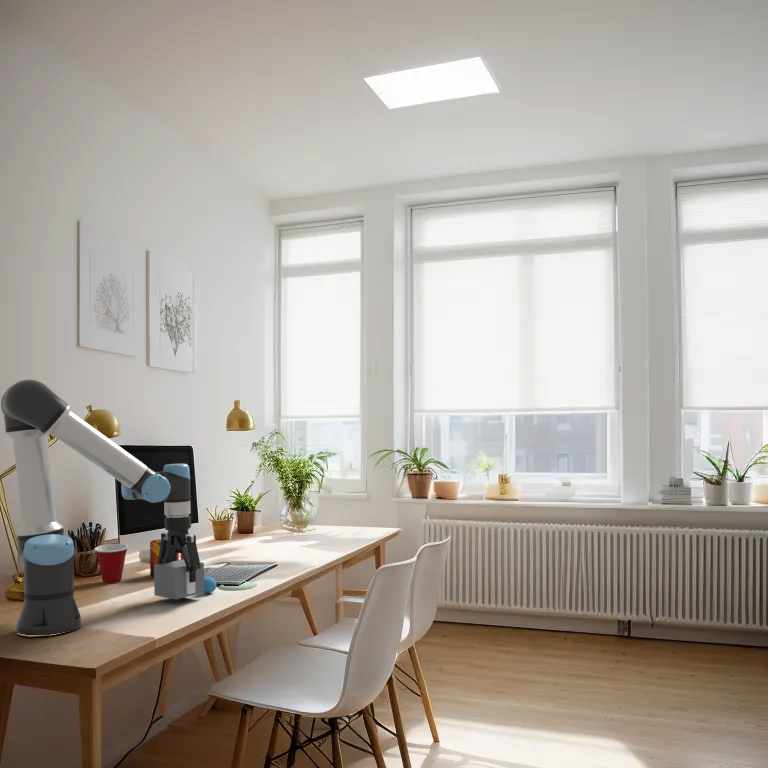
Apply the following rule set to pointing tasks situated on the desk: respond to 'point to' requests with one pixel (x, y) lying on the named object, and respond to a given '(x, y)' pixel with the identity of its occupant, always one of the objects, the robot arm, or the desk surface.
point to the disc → (241, 587)
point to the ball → (209, 585)
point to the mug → (155, 554)
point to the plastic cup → (111, 561)
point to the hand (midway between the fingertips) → (179, 591)
